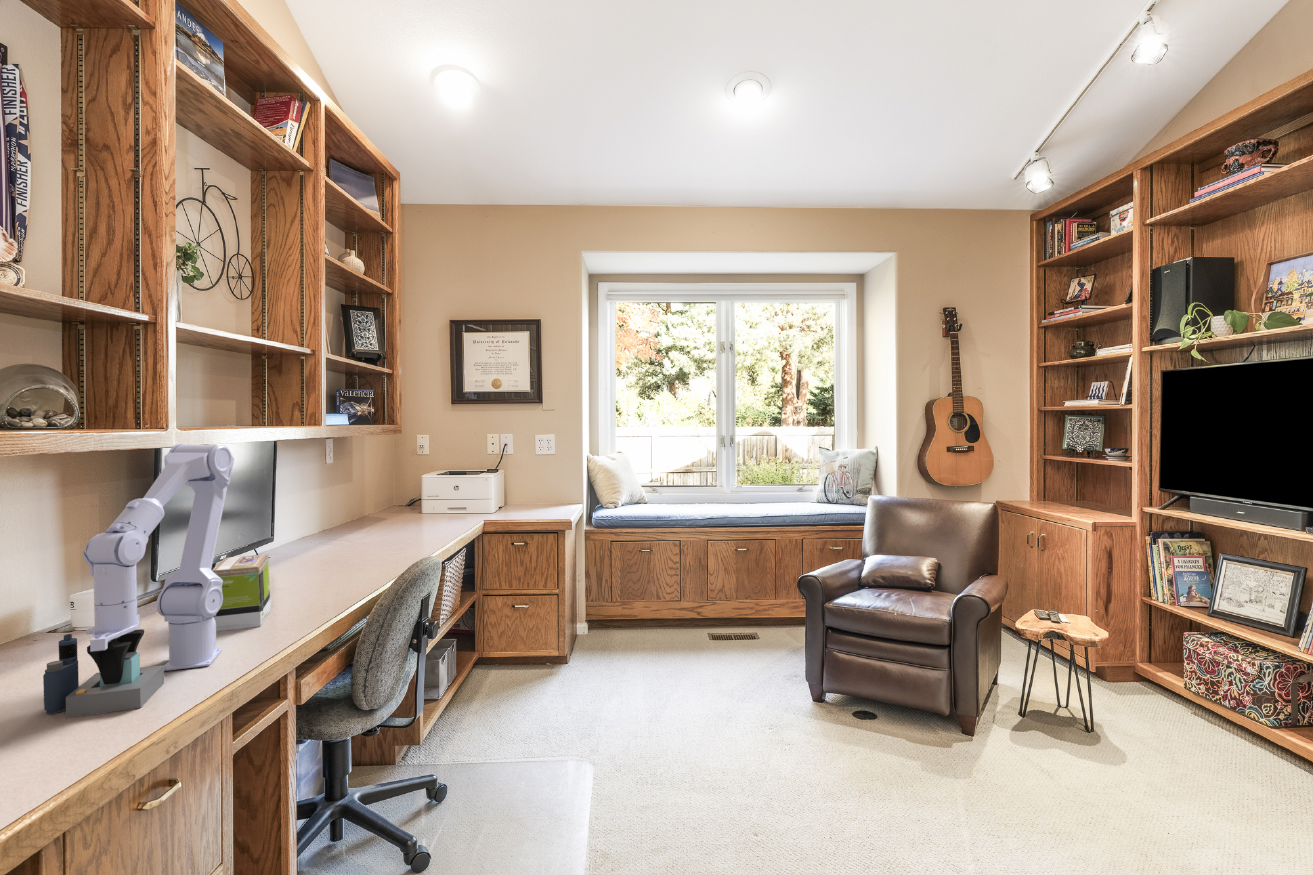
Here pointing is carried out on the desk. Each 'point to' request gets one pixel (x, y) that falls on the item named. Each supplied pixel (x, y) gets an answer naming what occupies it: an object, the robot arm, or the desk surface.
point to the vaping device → (61, 676)
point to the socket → (114, 694)
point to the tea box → (243, 592)
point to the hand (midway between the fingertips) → (117, 678)
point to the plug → (128, 669)
